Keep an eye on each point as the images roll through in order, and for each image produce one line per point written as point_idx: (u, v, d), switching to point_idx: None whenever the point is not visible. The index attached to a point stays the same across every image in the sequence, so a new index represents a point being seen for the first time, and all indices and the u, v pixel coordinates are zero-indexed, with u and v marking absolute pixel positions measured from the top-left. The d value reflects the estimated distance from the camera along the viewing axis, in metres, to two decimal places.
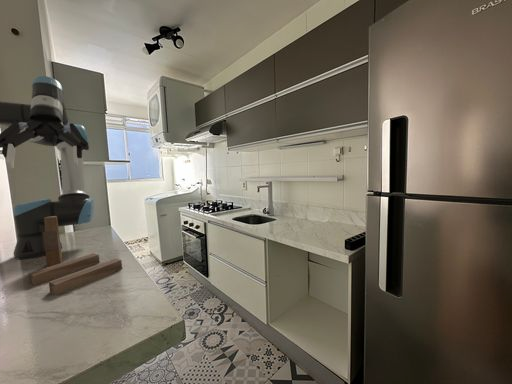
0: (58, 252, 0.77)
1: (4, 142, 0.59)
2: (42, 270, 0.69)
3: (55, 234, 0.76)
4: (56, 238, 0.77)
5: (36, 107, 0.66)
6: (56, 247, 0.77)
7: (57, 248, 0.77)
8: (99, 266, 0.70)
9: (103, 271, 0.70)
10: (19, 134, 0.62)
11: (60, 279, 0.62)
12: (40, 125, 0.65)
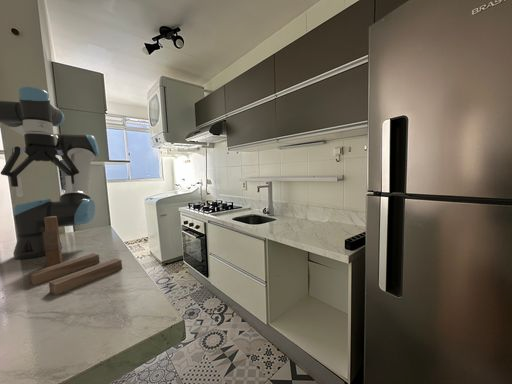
0: (58, 252, 0.77)
1: (13, 175, 0.70)
2: (42, 270, 0.69)
3: (55, 234, 0.76)
4: (56, 238, 0.77)
5: (37, 136, 0.73)
6: (56, 247, 0.77)
7: (57, 248, 0.77)
8: (99, 266, 0.70)
9: (103, 271, 0.70)
10: (23, 165, 0.72)
11: (60, 279, 0.62)
12: (39, 154, 0.75)
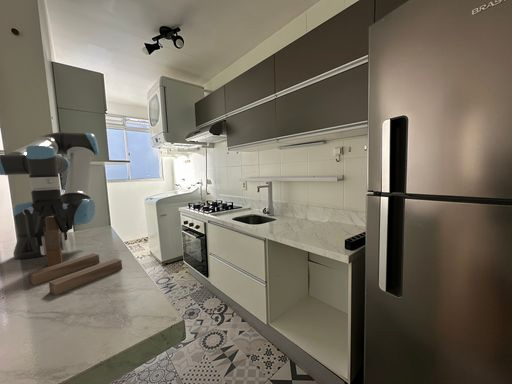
0: (59, 252, 0.77)
1: (39, 236, 0.76)
2: (42, 270, 0.69)
3: (56, 234, 0.77)
4: (57, 238, 0.77)
5: (44, 193, 0.75)
6: (57, 247, 0.77)
7: (58, 248, 0.77)
8: (99, 266, 0.70)
9: (103, 271, 0.70)
10: (41, 224, 0.76)
11: (60, 279, 0.62)
12: None
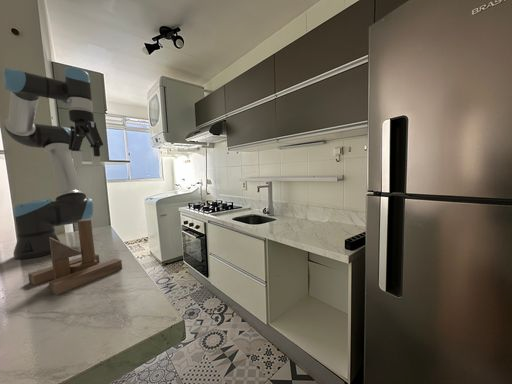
0: (54, 265, 0.66)
1: (71, 149, 0.88)
2: (42, 270, 0.69)
3: (51, 243, 0.65)
4: (52, 248, 0.65)
5: (69, 113, 0.82)
6: (53, 258, 0.66)
7: (53, 260, 0.65)
8: (99, 266, 0.70)
9: (103, 271, 0.70)
10: (73, 141, 0.87)
11: (60, 279, 0.62)
12: (77, 129, 0.84)
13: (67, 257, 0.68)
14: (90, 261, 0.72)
